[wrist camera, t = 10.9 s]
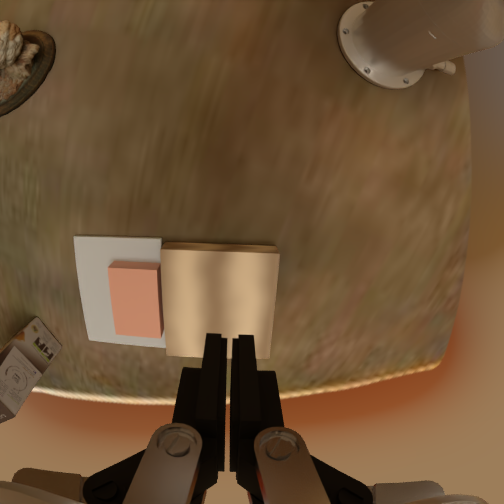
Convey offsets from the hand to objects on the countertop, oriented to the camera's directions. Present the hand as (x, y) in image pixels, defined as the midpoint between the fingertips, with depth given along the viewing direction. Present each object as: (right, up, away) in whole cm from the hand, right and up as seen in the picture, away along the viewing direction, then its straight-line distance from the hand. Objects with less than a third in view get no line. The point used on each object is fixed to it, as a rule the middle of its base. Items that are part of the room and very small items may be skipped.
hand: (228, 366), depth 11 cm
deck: (-3, -2, +28) cm, 28 cm away
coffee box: (-33, -10, +28) cm, 45 cm away
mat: (-16, -1, +27) cm, 31 cm away
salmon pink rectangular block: (-13, -2, +25) cm, 28 cm away
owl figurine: (-33, +28, +16) cm, 46 cm away
